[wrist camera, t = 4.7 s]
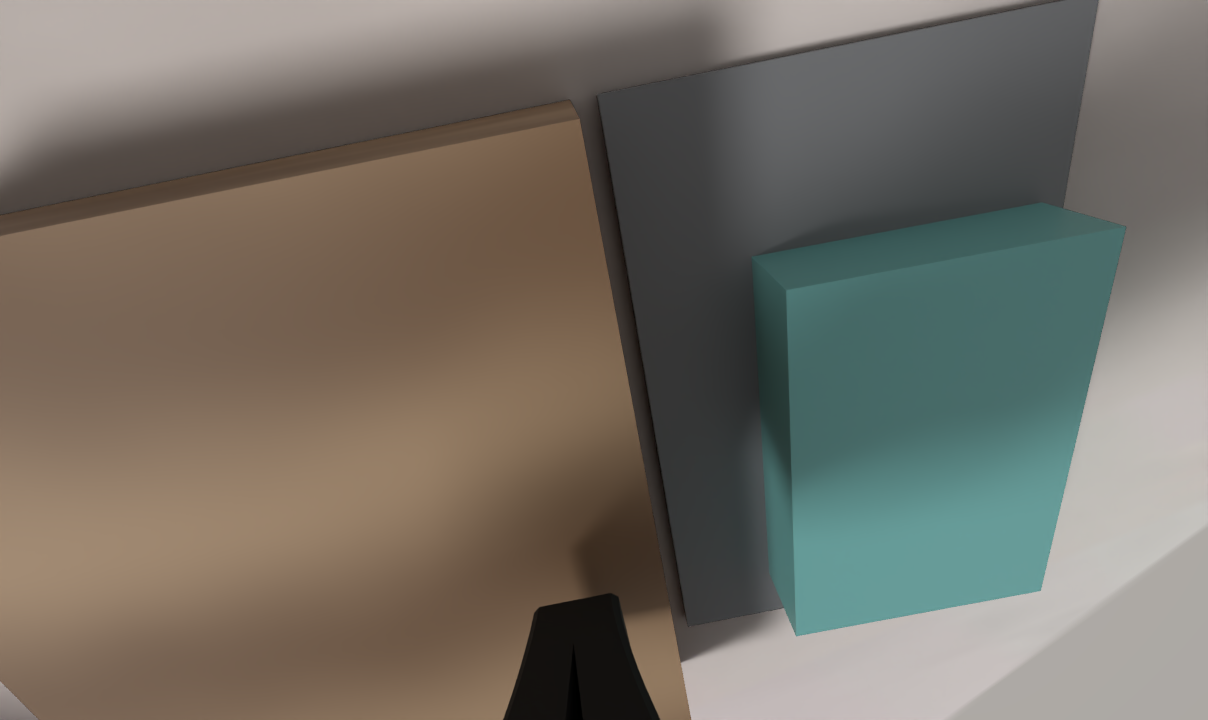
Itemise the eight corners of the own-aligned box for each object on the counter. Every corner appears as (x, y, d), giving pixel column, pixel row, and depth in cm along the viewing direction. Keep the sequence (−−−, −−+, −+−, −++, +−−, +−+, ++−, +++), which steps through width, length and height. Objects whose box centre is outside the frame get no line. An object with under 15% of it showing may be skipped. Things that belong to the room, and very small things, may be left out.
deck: (677, 665, 18) (708, 814, 15) (290, 741, 18) (226, 907, 15) (569, 99, 11) (579, 119, 7) (-73, 229, 11) (-372, 311, 7)
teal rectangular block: (796, 636, 14) (769, 573, 16) (1040, 590, 14) (986, 532, 16) (786, 289, 10) (751, 256, 12) (1126, 226, 10) (1041, 202, 12)
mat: (994, 557, 17) (1001, 565, 17) (685, 617, 17) (688, 626, 17) (1085, -5, 11) (1099, -7, 11) (596, 94, 11) (597, 95, 11)
